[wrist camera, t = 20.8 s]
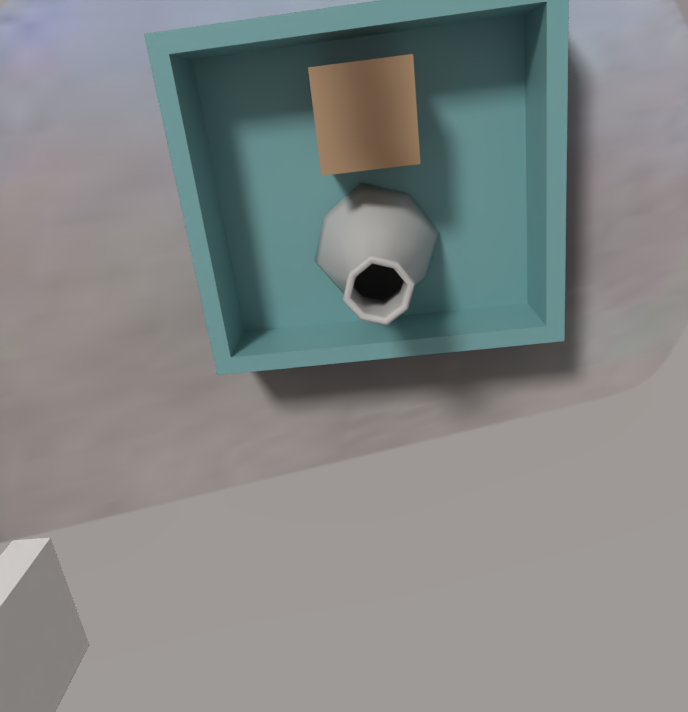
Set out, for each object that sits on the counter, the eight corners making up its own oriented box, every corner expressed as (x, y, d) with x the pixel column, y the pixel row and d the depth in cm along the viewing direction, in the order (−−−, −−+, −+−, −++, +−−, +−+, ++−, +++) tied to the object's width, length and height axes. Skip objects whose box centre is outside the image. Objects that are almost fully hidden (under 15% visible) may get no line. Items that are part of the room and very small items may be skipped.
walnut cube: (327, 166, 36) (321, 175, 31) (316, 72, 34) (308, 67, 30) (413, 156, 36) (420, 163, 31) (406, 60, 34) (413, 53, 29)
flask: (393, 323, 40) (401, 390, 30) (294, 264, 38) (272, 316, 29) (459, 225, 37) (490, 266, 28) (356, 160, 36) (352, 179, 27)
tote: (234, 344, 41) (217, 375, 36) (173, 43, 34) (143, 34, 30) (541, 313, 40) (564, 341, 35) (540, -9, 33) (569, -27, 28)
